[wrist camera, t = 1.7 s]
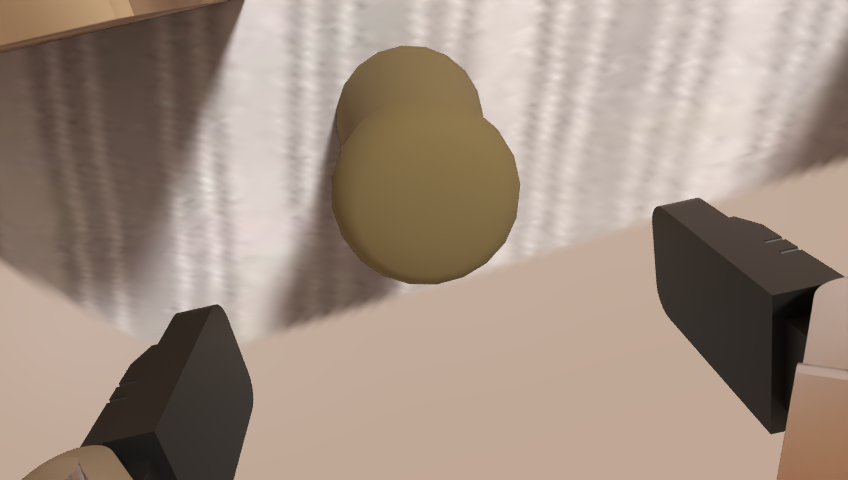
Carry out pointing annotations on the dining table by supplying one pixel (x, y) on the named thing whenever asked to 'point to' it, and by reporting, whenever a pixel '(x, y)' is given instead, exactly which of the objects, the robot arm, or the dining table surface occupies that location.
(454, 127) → the olive pawn
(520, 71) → the dining table surface
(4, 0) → the walnut box
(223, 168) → the dining table surface
